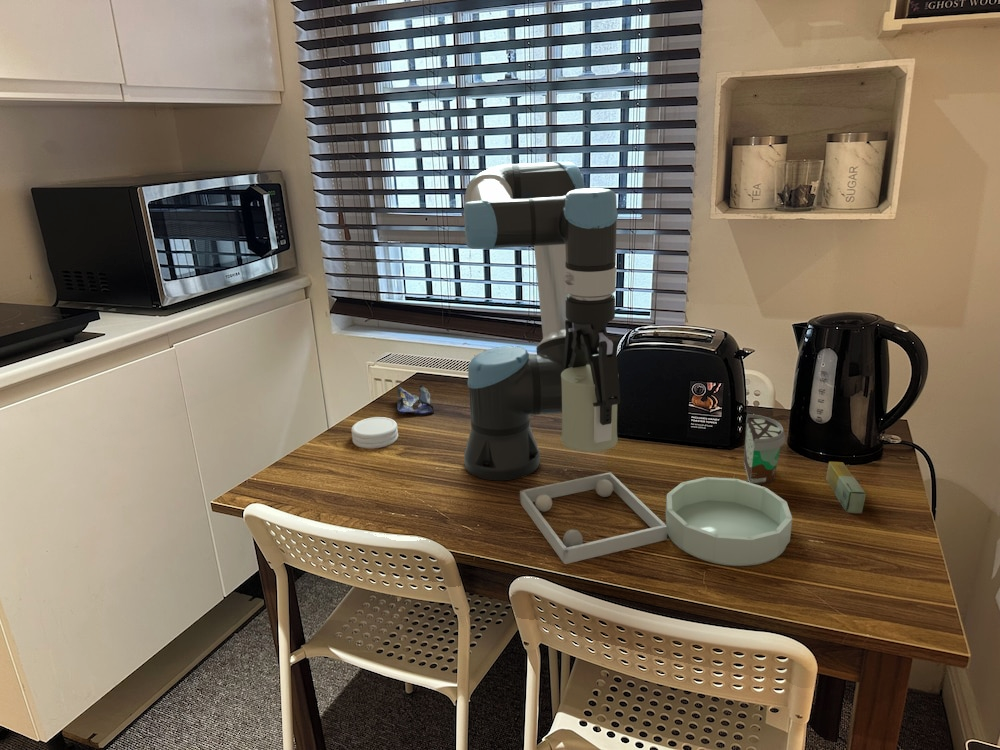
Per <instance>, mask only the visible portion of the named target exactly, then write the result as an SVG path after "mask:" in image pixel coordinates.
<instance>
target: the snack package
mask: <svg viewBox="0 0 1000 750" xmlns="http://www.w3.org/2000/svg"><path fill="white" fill-rule="evenodd" d="M418 389H419V390H418V392H419V396H418V395H416V394H411V393H410V392H409V391H407V390H405V389H403V388H402V387H401V386H400V385H399V384H398V385H397V389H396V390H397V396H398V400H397V402H396V407H397V408H396V409H397V413H398V414H399V415H402V414H406V413H413V414H414V415H415V416H426V415H430V414H431V415H432V414H435V408H434V406H433V405H431V394H430V392H429V390H428V389H427V388H426V387H425V386H423V385H422V384H421V385H420V386H419V387H418ZM416 402H417V403H418V404H419V405H418V406H417V407H418V408H416V409H414V408H413V405H414V404H415V403H416Z"/></svg>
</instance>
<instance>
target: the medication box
mask: <svg viewBox="0 0 1000 750" xmlns="http://www.w3.org/2000/svg"><path fill="white" fill-rule="evenodd" d="M825 476H826V477H825V481H826V480H827V481H826V483H827V484H828V485H830V486H829V488H830V489H831V488H832V489H831V491H832V492H833V493H835V494H834V495H835V497H836V499H837V500H838V502H839V503H840V505H841V507H842V508H843V510H844V511H845V512H846V513H847V514H863V510H864V505H865V501H866V495H867V492H865V490H864V489H863V487H862V486H861V485H860V484H859V482H858V480H857V479H856V478H855V477H854V475H853V474H852V472H850V470H849V468H848V467H847V466H846V465H845V463H844V462H843V461H842V462H841V461H828V465H827V471H826V475H825Z"/></svg>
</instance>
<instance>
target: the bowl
mask: <svg viewBox="0 0 1000 750" xmlns="http://www.w3.org/2000/svg"><path fill="white" fill-rule="evenodd" d="M665 501H666V502H665V525H667V537H668V538H669V539H670V541H671V542H672V543H673V544H674V545H675V546H677V548H679V550H682V551H683V552H685V553H686V554H689V555H690V556H692V557H694V558H697V559H700V560H702V561H705V562H708V563H712V564H717V565H723V566H729V567H730V566H731V567H746V566H747V567H750V566H758V565H762V564H765V563H768V562H772V561H773V560H775V559H777V558H778V557H780V556H781V555H782V554H783V553H784V552H785V550H786V549H787V546H788V544H789V543H790V542H791V534H792V527H793V526H792V525H793V515H792V513H791V511H790V508H789V505H788V501H786V500H785V499H783V498H782V497H780V496H779V495H778V494H776V493H775V492H774V491H772V490H770V489H769V488H767V487H765V486H764V485H763V486H759V485H756V484H753V483H749V482H748V481H746V480H743V479H739V478H730V477H729V478H728V477H714V476H713V477H712V476H711V477H709V476H705V477H701V478H696V479H695V478H694V479H692V480H687V481H683V482H680V483H679V484H678V485H677V486H675V487H674V488H672V489H671V491H669V492H668V493H667V494H666V498H665Z"/></svg>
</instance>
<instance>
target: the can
mask: <svg viewBox="0 0 1000 750" xmlns="http://www.w3.org/2000/svg"><path fill="white" fill-rule="evenodd" d="M618 377H619V373H618ZM619 378H620V377H619ZM561 381H562V413H561V435H560V436H561V437H560V439H561V442H562V444H563V445H564V446H565V447H567V448H568V449H571V450H573V451H577V452H583V453H598V452H604V451H608V450H610V449H612V448H614V447H615V446H616V445H617V443H618V441H619V439H618V404H615V405H612V435H611V440H609V441H604V442H599V443H595V442H594V405H593V403H596V402H597V399H596V394H595V384H594V383H593V378H592V373H591V367H590V365H586V366H582V367H575V368H572V367H570V368H567V369H565V370H564V371H563V372H562V373H561Z"/></svg>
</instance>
